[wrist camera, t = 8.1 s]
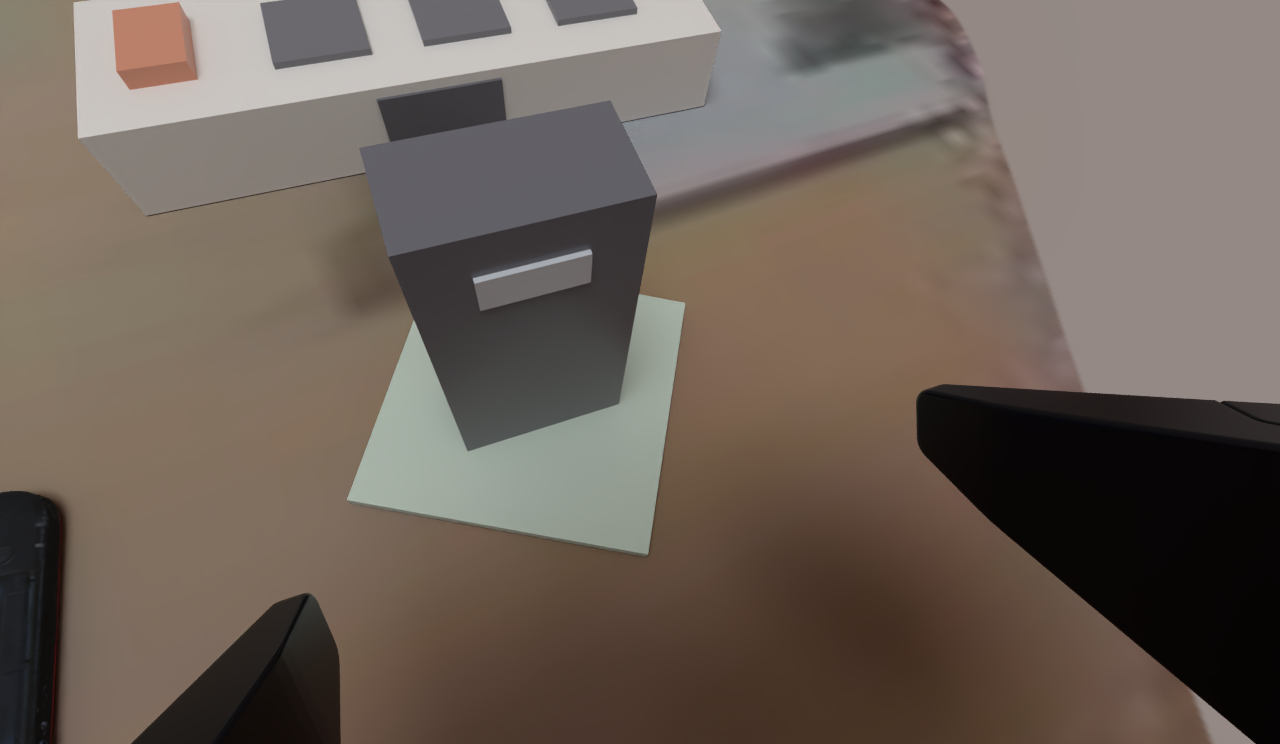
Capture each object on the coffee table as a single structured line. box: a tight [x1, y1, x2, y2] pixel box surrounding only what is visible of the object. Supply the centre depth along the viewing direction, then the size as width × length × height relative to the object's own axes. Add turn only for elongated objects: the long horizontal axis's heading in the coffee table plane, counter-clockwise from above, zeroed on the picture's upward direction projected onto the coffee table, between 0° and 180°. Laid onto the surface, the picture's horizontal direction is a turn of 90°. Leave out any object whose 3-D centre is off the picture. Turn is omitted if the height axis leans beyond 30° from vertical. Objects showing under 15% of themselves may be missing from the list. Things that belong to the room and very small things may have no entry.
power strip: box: [74, 0, 721, 216], centre depth 25 cm, size 22×7×4 cm, turn 111°
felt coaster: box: [347, 294, 685, 557], centre depth 21 cm, size 9×9×1 cm
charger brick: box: [359, 100, 657, 451], centre depth 17 cm, size 3×5×10 cm, turn 111°
